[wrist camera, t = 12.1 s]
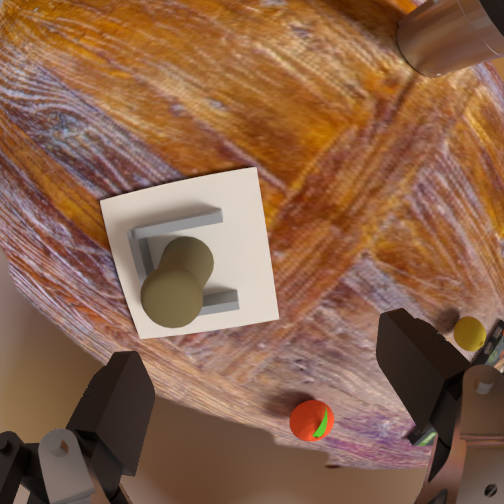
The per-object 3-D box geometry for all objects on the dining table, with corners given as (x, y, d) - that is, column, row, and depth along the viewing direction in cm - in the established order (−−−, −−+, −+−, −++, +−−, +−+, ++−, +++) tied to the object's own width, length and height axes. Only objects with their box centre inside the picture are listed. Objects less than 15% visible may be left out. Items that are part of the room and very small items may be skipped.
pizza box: (525, 351, 48) (531, 356, 44) (458, 437, 55) (463, 443, 51) (499, 318, 41) (509, 325, 38) (406, 436, 48) (412, 445, 44)
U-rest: (103, 200, 29) (88, 203, 25) (255, 167, 29) (259, 165, 26) (142, 335, 34) (134, 352, 30) (277, 315, 34) (283, 331, 31)
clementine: (297, 384, 38) (307, 418, 31) (336, 387, 39) (351, 418, 32) (280, 417, 40) (286, 450, 33) (317, 419, 41) (327, 449, 34)
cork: (206, 293, 32) (197, 348, 21) (156, 279, 31) (126, 327, 20) (220, 244, 30) (215, 281, 20) (167, 229, 30) (136, 258, 19)
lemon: (441, 333, 38) (467, 356, 31) (457, 305, 37) (486, 326, 30) (454, 339, 39) (479, 361, 32) (470, 314, 38) (496, 333, 31)
